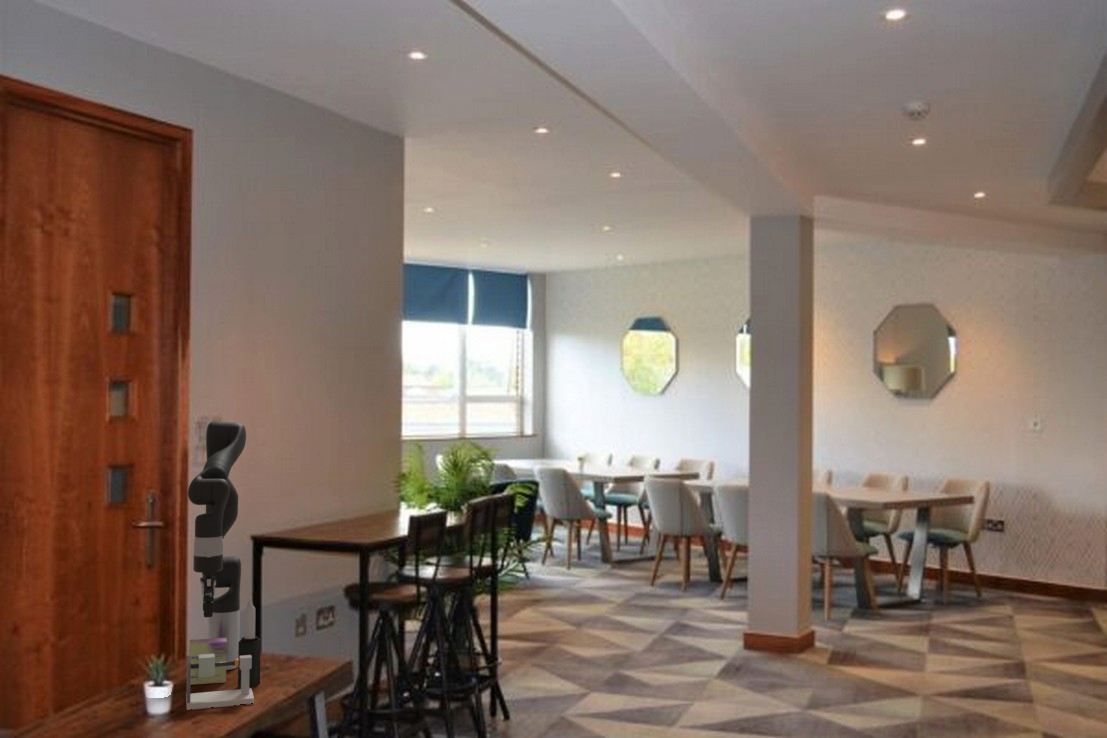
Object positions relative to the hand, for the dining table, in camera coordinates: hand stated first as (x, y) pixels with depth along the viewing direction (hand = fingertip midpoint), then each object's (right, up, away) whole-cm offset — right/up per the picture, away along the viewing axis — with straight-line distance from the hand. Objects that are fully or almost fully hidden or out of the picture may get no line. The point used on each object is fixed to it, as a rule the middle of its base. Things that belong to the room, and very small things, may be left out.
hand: (207, 613), depth 281 cm
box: (-7, -25, +20) cm, 33 cm away
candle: (+6, -24, +17) cm, 30 cm away
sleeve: (0, -16, 0) cm, 16 cm away
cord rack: (+3, -24, +1) cm, 24 cm away
